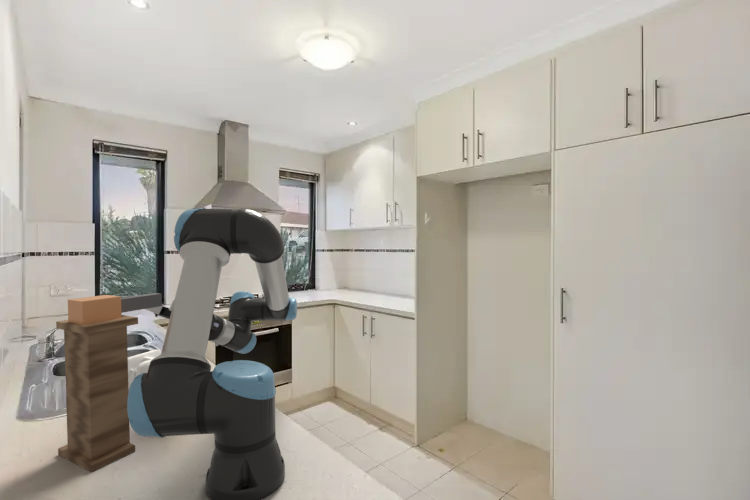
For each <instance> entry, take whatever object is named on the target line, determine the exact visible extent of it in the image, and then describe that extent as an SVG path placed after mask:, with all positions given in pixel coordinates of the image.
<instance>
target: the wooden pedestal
mask: <svg viewBox="0 0 750 500" xmlns="http://www.w3.org/2000/svg"><path fill="white" fill-rule="evenodd" d="M55 323H56V324H55V325H56V326H55V327H56V329H57V330H63V335H64V336H63V338H64V339H63V342H64V343H63V344H64V345H63V346H64V368H65V369H64V370H65V371H64V372H65V373H64V374H65V395H66V396H65V400H66V403H65V405H66V407H65V408H66V432H67V434H66V437H67V438H66V439H67V444H66V445H63V446H60V447H58V449H57V455H58V456H60V457H61V458H63V459H66V460H67V461H70V462H71V463H73V464H75V465H77V466H79V467H81V468H82V469H85V470H87V471H89V472H91V473H93V472H95V471H97V470H99V469H101V468H103V467H105V466H107V465H109V464H111V463H114V462H115V461H117V460H120V459H123V458H125V457H126V456H128V455H130V454H132V453H134V452H136V445H135V444H134V443H131V437H130V430H131V429H130V422H129V418H128V412H127V400H128V393H129V390H128V357H129V356H128V353H129V352H128V351H129V350H128V327H129V326H134V325H138V324H139V317H136V316H130V315H125V314H124V315H123V314H122V318H118V319H113V320H107V321H101V322H96V323H90V324H84V325H81V324H76V323H71V322H68V319H64V320H58V321H56V322H55Z"/></svg>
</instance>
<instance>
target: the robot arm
mask: <svg viewBox="0 0 750 500" xmlns="http://www.w3.org/2000/svg"><path fill="white" fill-rule="evenodd" d="M173 233H174V235H173V242H174V247H175V249H176V250H177V252H178V253H179V256H180V258H181V259H182V260H183V263H182V267H181V271H180V276H179V279H178V284H177V287H176V292H175V295H174V299H173V300H172V301H171V304H170V306H169V307H166V306H164V305H163V304H162V306H159V307H153V308H147V309H145V310H146V311H149V312H151V313H153V314H154V317H156V318H158V317H161V318H164V319H167V320H168V322H167V323H168V324H167V328H166V331H165V332H166V333H165V336H164V340H163V342H162V343H163V344H162V348H161V354H160V355H159V356H157V357H156V358H154V359H153V360H151V362H150V365H149V369H148V372H147V373H142V374H140V375H138V376H136V377H135V378H134V380H133V381H132V383H131V386H130V389H129V393H128V400H127V412H128V418H129V426H131V429H132V430H133V432H134V433H135V434H136V435H138V436H140V437H145V438H146V437H147V438H149V437H152V438H155V437H156V438H157V437H158V438H159V439H161V438H164V437H171V436H172V437H175V436H193V435H209V434H212V435H214V448H213V449H214V450H213V453H212V456H211V460H210V466H209V468H208V470H207V471H206V475H205V493H206V495H207V497H208V498H209V499H210V500H262V499H265V498H266V497H268V496H269V495H271V494H272V493H274V492H275V491H277V490H278V489H279V487H281V486H282V483H283V482H284V480H285V476H286V467H285V465H286V464H285V460H284V458H283V455H282V453H281V449H280V447H279V444H278V441H277V436H276V393H277V390H276V387H275V386H276V384H275V374H274V372H273V370H272V369H271V368H270V367H269V366H268V365H266V364H265V363H263V362H262V363H261V362H259V361H254V360H247V359H246V360H245V359H244V360H243V359H239V360H238V359H236V360H231V361H224V362H223V361H222V362H220V363H218V364H216V365H215V366H214V368H213V370H212V365H211V363H210V361H208V359H207V358H206V354H207V349H208V343H209V342H211V343H213V344H214V346H215V347H218V346H221V347H225V349H229V350H231V351H233V352H234V353H239V354H243V355H244V354H248V353H250V352H251V351H252V350H253V349H254V348H255V346H256V344H257V336H256V334H255V333H254V332H253V331H252V330H251V329H252V322H272V321H273V322H274V321H276V322H277V321H284V322H285V321H294V320H295V319H296V318H297V316H298V315H297V313H298V302H297V301H298V300H297V299H296V298H295V297H290V296H289V289H288V283H287V278H286V272H285V267H284V261H283V255H284V252H285V244H284V241H283V237H282V236H281V233H280V231H279V230H278V229H277V227H276V225H274V224H273V223H272V221H270V219H268V218H267V217H266V216H265V215H263V214H261V213H259V212H258V211H256V210H253V209H249V208H204V207H199V208H192V209H191V208H190V209H187V210H184V211H183V212H182V213H181V214H180V215H179V217H178V218H177V220H176V223H175V226H174V230H173ZM235 254H236V255H238V254H240V255H241V254H248V256H249V257H250V259H251V261H253V262H254V263H255V266H256V271H257V274H258V279H259V281H260V287H261V289H262V293H263V297H264V298H263V297H262V298H259V297H258V298H255V296H254V293H251V292H249V291H245V290H244V291H243V290H241V291H236V292H234V293H233V294H232V295H231V299H230V303H229V305H228V308H229V309H228V314H227V316H228V317H227V319H225V318H224V317H222V316H219V315H217V314H216V313H215V314H214V311H215V307H216V306H215V305H216V301H217V294H218V289H219V285H220V284H219V283H220V279H221V274H222V273H221V272H222V269H223V267H225V266H226V265H227V264H229V262H230V260H231V255H235Z"/></svg>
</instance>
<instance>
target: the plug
mask: <svg viewBox="0 0 750 500" xmlns="http://www.w3.org/2000/svg"><path fill="white" fill-rule="evenodd" d="M162 301H163V298H162V293H159V292H156V293H155V292H153V293H146V294H140V295H139V294H137V295H132V296H130V295H129V296H124V297H123V296H120V295H112V294H111V295H110V294H102V295H94V296H88V297H87V296H86V297H79V298H70V299H67V318H68V319H67V320H68V322H71V323H76V324H81V325H84V324H90V323H96V322H101V321H107V320H113V319H118V318H122V315H123V314H122V313H128V312H133V311H134V312H135V311H140V310H146V309H147V308H153V307H159V306H162V305H163V302H162Z"/></svg>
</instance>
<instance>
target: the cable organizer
mask: <svg viewBox="0 0 750 500" xmlns="http://www.w3.org/2000/svg"><path fill="white" fill-rule="evenodd" d="M161 351H162V349H152V350H150V351H146V352H143V353H137V354H135V355H132V356H128V390H129V389H130V386H131V383H132V381H133V380H134V378H135V377H136V376H138V375H140V374H142V373H147V372H148V369H149V365H150V362H151V360H153V359H154V358H156V357H157V356H159V355H160V354H161Z"/></svg>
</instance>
